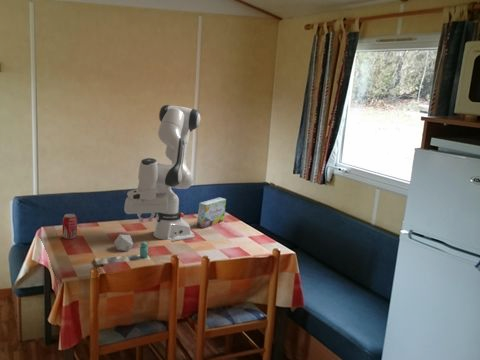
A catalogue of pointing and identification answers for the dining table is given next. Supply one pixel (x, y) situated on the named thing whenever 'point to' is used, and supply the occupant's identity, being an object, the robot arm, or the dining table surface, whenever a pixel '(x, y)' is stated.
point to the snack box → (211, 212)
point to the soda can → (69, 226)
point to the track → (101, 261)
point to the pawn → (143, 250)
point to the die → (123, 242)
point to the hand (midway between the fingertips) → (145, 221)
